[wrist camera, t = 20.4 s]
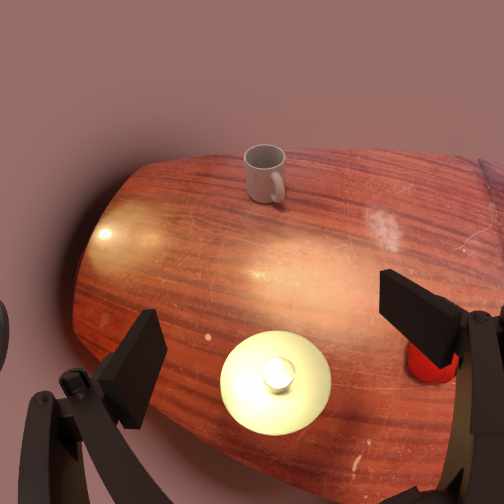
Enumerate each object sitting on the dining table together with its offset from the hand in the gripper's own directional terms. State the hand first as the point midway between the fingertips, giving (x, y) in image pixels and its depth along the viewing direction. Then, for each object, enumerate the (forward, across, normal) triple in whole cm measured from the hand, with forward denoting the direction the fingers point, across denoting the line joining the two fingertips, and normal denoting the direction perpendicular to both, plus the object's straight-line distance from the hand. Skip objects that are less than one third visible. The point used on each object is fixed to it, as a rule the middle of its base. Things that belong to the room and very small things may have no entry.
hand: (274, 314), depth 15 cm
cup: (+41, +6, +4) cm, 42 cm away
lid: (+10, 0, -14) cm, 17 cm away
